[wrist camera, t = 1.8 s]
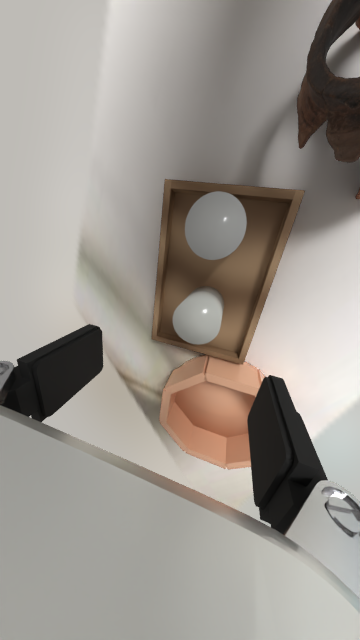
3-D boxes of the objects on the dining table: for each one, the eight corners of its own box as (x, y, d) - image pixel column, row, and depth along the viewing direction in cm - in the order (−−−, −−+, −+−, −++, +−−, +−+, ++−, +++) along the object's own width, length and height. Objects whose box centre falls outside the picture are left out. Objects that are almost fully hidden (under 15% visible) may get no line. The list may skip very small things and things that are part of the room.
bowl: (178, 342, 23) (166, 360, 19) (294, 374, 20) (309, 403, 16) (166, 415, 29) (156, 440, 25) (256, 448, 26) (259, 482, 22)
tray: (171, 185, 17) (164, 179, 15) (297, 197, 14) (305, 190, 13) (157, 332, 23) (151, 339, 22) (242, 355, 21) (242, 364, 19)
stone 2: (191, 282, 19) (175, 294, 14) (228, 290, 18) (226, 305, 13) (185, 316, 21) (170, 337, 16) (219, 324, 20) (214, 349, 15)
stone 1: (203, 206, 16) (189, 188, 11) (248, 211, 15) (255, 194, 10) (195, 253, 18) (181, 254, 13) (236, 259, 17) (236, 264, 12)
